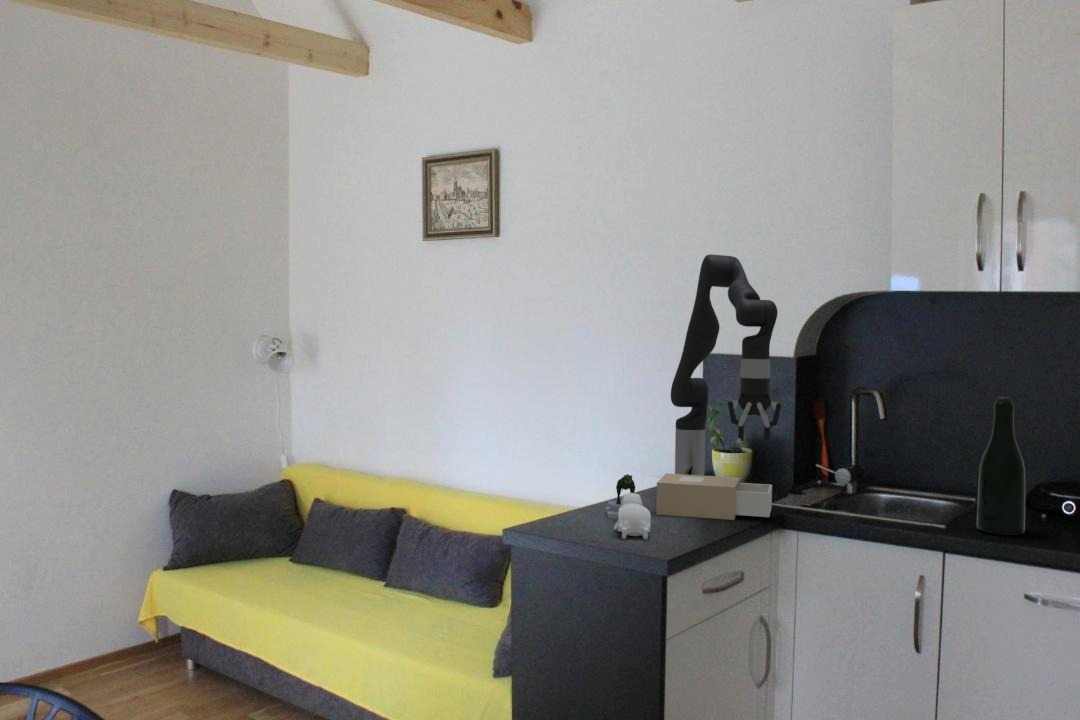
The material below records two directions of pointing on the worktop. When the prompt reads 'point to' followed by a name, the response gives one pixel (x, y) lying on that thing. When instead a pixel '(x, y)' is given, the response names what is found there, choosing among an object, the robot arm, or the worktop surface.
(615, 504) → the dinosaur figurine
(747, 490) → the tray
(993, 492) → the beer bottle
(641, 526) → the white animal figurine
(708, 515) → the sleeve
